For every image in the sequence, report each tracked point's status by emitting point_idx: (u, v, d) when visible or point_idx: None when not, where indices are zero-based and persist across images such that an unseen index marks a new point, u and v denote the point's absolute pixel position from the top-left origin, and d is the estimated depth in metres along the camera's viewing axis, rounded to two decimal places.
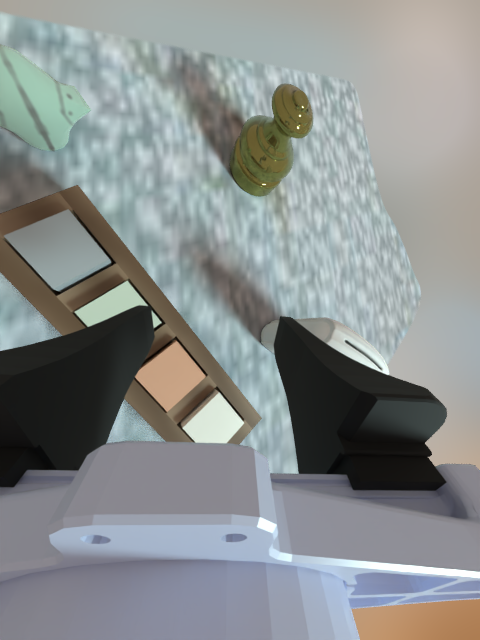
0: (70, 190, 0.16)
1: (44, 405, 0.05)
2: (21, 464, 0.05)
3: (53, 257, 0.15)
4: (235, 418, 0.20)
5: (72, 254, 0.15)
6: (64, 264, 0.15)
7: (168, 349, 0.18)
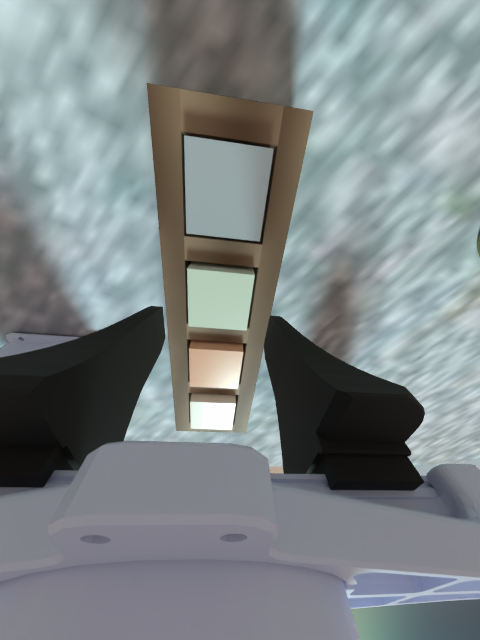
0: (298, 114, 0.10)
1: (71, 406, 0.05)
2: (49, 465, 0.05)
3: (212, 199, 0.11)
4: (229, 423, 0.21)
5: (230, 210, 0.11)
6: (215, 215, 0.12)
7: (230, 352, 0.17)
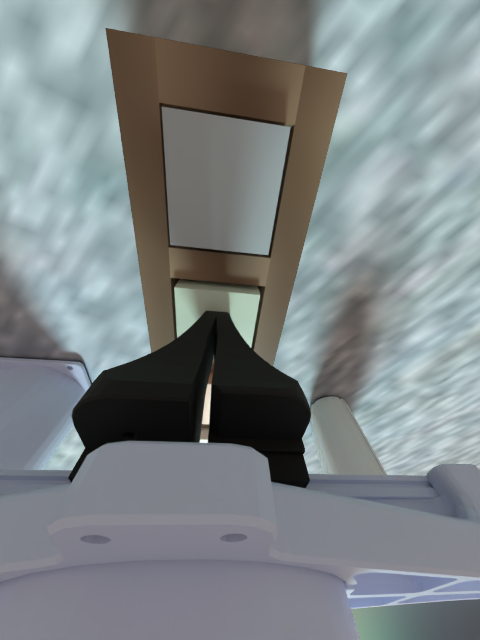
0: (325, 78, 0.07)
1: (193, 411, 0.05)
2: None
3: (204, 199, 0.08)
4: None
5: (229, 214, 0.08)
6: (208, 221, 0.09)
7: None
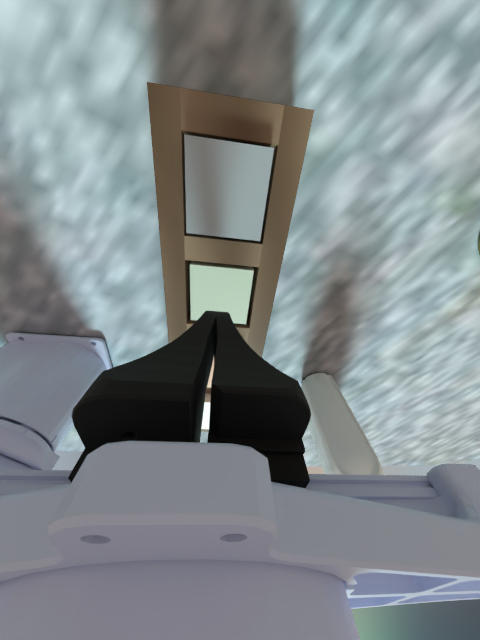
0: (299, 113, 0.10)
1: (194, 411, 0.05)
2: None
3: (212, 199, 0.11)
4: None
5: (231, 209, 0.11)
6: (215, 215, 0.12)
7: None
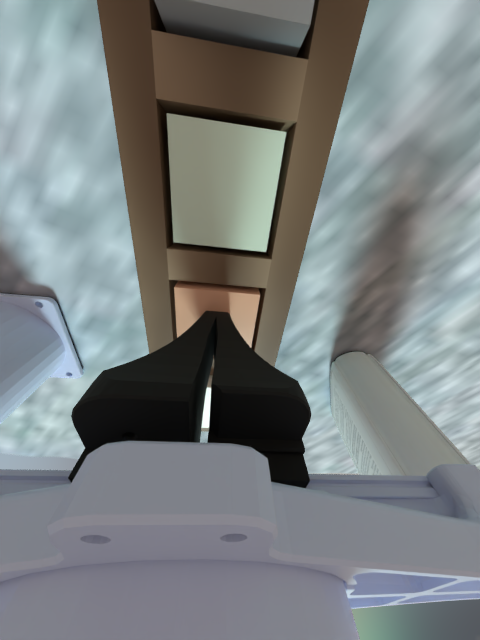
0: None
1: (193, 411, 0.05)
2: None
3: None
4: None
5: None
6: None
7: (240, 295, 0.11)
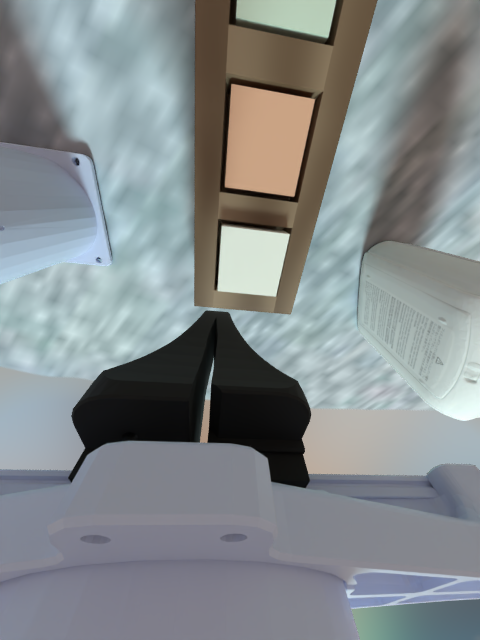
0: None
1: (194, 411, 0.05)
2: None
3: None
4: (273, 281, 0.15)
5: None
6: None
7: (295, 99, 0.11)
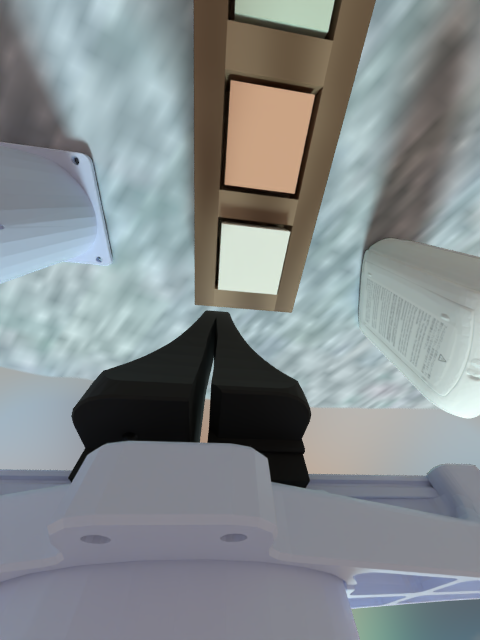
0: None
1: (194, 411, 0.05)
2: None
3: None
4: (274, 279, 0.15)
5: None
6: None
7: (295, 95, 0.11)
